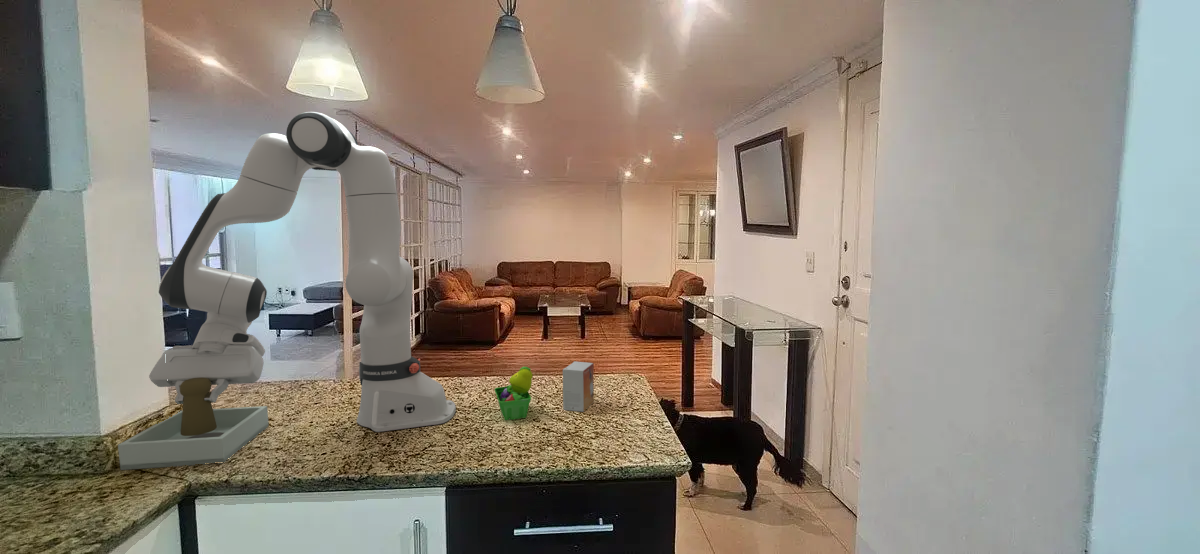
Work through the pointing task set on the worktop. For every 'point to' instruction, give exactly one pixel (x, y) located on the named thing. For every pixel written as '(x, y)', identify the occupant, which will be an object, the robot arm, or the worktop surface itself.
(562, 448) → the worktop surface
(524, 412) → the fruit basket
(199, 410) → the cork
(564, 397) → the small box
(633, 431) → the worktop surface
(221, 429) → the grey square tray
